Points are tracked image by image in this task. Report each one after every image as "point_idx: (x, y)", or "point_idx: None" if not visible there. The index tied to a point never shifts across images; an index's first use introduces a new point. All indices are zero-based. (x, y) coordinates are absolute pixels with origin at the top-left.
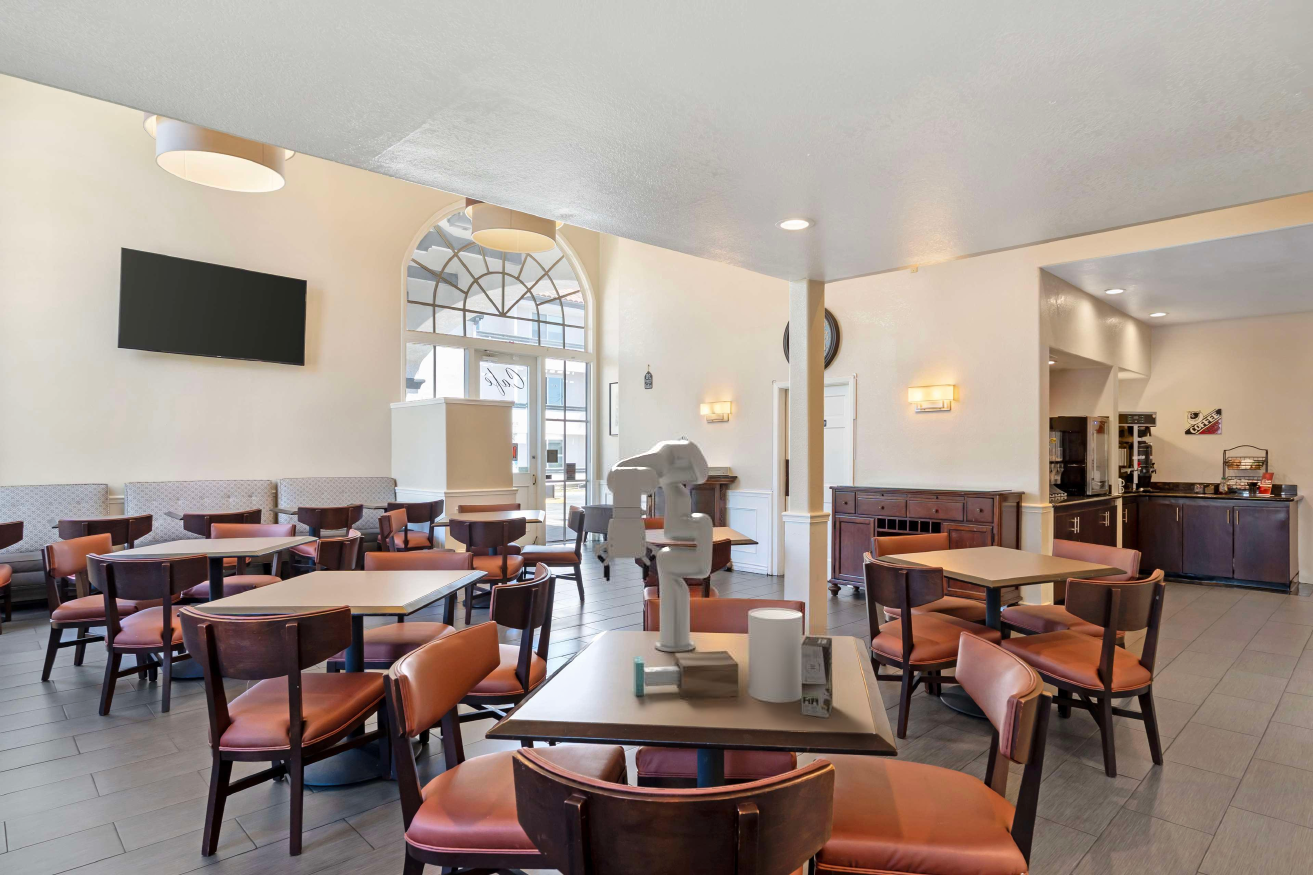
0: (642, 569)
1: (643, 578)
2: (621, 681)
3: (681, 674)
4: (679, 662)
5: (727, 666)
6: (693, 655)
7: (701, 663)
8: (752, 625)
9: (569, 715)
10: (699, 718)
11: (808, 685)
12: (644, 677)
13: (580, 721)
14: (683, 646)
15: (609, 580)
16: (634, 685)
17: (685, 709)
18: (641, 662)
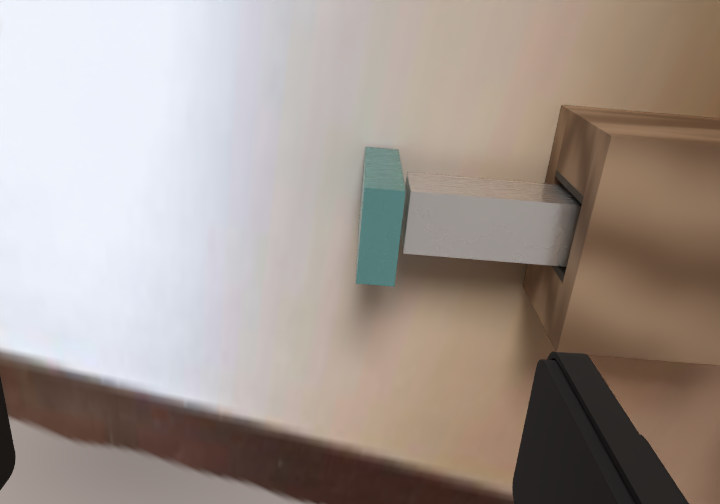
0: (593, 454)
1: (523, 467)
2: (332, 10)
3: (551, 297)
4: (574, 269)
5: None
6: (686, 202)
7: (655, 334)
8: None
9: (114, 342)
10: (507, 441)
11: None
12: (405, 207)
13: (151, 391)
14: None
15: (11, 466)
16: (362, 186)
17: (494, 372)
18: (384, 280)
